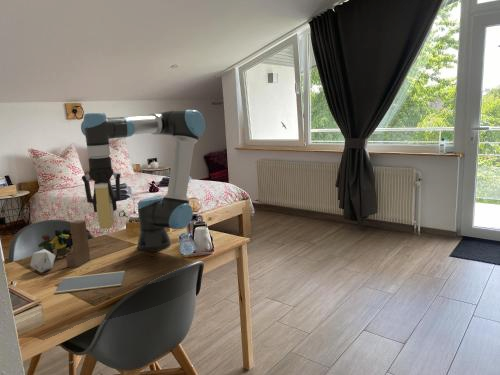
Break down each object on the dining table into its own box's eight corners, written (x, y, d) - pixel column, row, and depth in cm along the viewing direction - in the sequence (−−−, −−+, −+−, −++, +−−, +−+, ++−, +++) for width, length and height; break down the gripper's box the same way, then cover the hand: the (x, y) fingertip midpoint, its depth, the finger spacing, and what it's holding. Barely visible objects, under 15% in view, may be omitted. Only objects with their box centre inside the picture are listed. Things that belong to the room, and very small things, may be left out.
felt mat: (125, 272, 157) (124, 270, 157) (121, 286, 145) (121, 284, 145) (63, 279, 153) (63, 277, 153) (54, 294, 140) (54, 292, 140)
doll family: (80, 244, 193) (76, 217, 191) (94, 245, 190) (90, 219, 187) (39, 261, 173) (34, 232, 170) (53, 263, 169) (49, 234, 166)
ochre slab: (114, 221, 150) (109, 180, 147) (111, 227, 142) (106, 184, 139) (103, 222, 150) (98, 181, 146) (99, 228, 142) (94, 185, 139)
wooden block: (75, 268, 163) (69, 226, 160) (67, 266, 165) (61, 225, 161) (90, 259, 172) (85, 220, 168) (82, 259, 173) (77, 219, 170)
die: (27, 276, 159) (35, 259, 155) (28, 259, 165) (35, 243, 161) (50, 277, 164) (58, 261, 160) (49, 261, 170) (57, 245, 166)
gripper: (125, 154, 146) (131, 215, 151) (76, 157, 143) (84, 219, 148) (123, 156, 139) (129, 220, 144) (71, 159, 136) (80, 224, 140)
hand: (106, 219), depth 146 cm, fingers closed on ochre slab, 4 cm apart
